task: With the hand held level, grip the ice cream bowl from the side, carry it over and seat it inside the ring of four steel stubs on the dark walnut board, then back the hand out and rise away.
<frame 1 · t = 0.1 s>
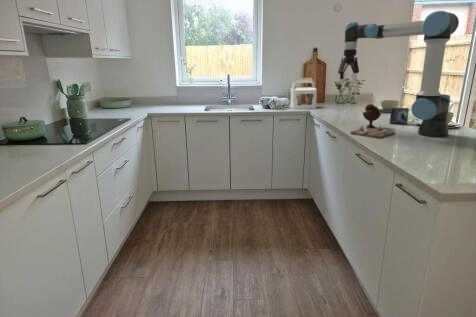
hand: (347, 84, 206), 28 cm above the worktop, tool pointing down, fingers open, 13 cm apart
white lantern: (302, 108, 307), on the worktop
small box: (398, 123, 220), on the worktop
ice cream bowl: (370, 127, 210), on the worktop
stub board: (372, 133, 191), on the worktop
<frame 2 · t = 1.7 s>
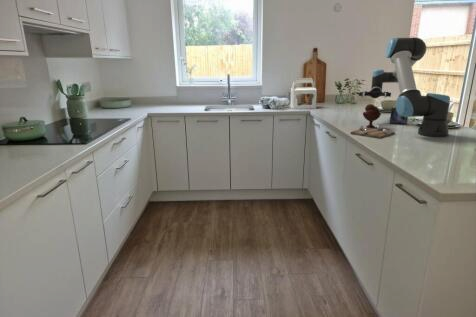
hand: (374, 95, 213), 20 cm above the worktop, tool horizontal, fingers open, 13 cm apart
nothing on the worktop moved.
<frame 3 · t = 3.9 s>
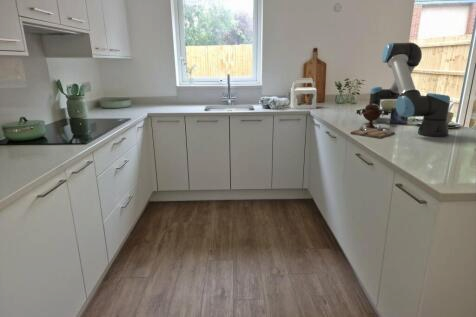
hand: (371, 114, 212), 8 cm above the worktop, tool horizontal, fingers open, 13 cm apart
nothing on the worktop moved.
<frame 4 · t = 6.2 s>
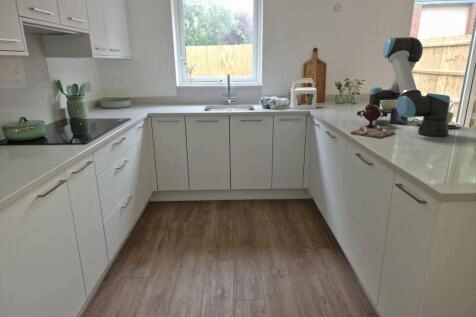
hand: (371, 115, 205), 8 cm above the worktop, tool horizontal, fingers closed on ice cream bowl, 11 cm apart
ice cream bowl: (370, 127, 210), on the worktop, touching gripper
everything else where it was.
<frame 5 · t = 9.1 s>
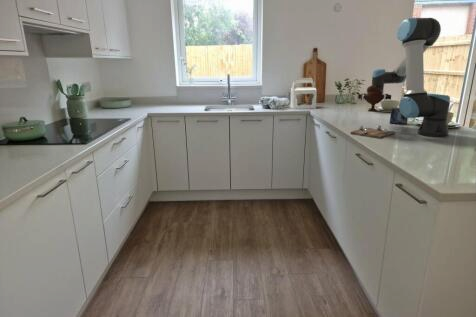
hand: (373, 98, 186), 21 cm above the worktop, tool horizontal, fingers closed on ice cream bowl, 11 cm apart
ice cream bowl: (372, 111, 191), point 13 cm above the worktop, touching gripper
everything else where it was.
when the fingers open (11 cm above the worktop, at t = 12.4 s): ice cream bowl drops 2 cm, resting on stub board.
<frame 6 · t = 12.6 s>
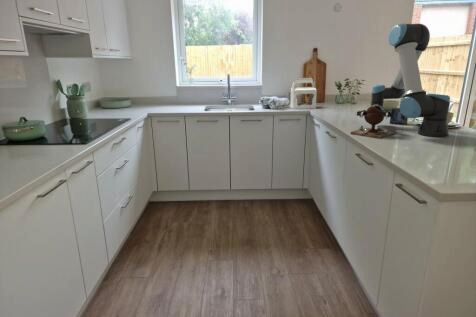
hand: (373, 116, 185), 11 cm above the worktop, tool horizontal, fingers open, 13 cm apart
ice cream bowl: (373, 132, 191), point 1 cm above the worktop, touching stub board
everything else where it was.
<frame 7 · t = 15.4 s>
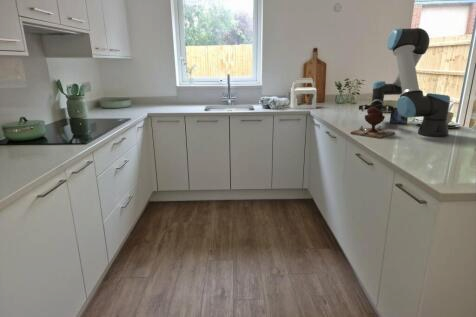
hand: (375, 109, 197), 13 cm above the worktop, tool horizontal, fingers open, 13 cm apart
nothing on the worktop moved.
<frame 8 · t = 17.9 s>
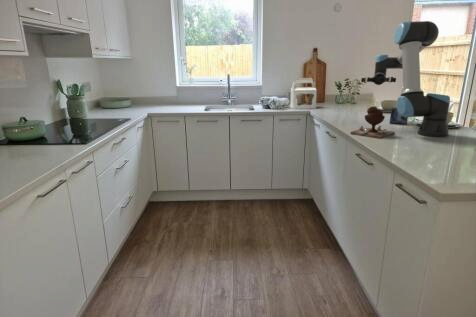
hand: (377, 80, 197), 30 cm above the worktop, tool horizontal, fingers open, 13 cm apart
nothing on the worktop moved.
at the end: ice cream bowl 0.3 cm off-centre on the stub board, point 1.0 cm above the stub board's base; ice cream bowl tilted 0°; the gripper is holding nothing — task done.
